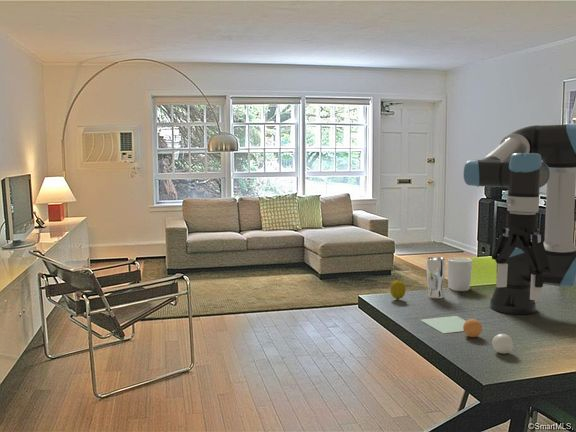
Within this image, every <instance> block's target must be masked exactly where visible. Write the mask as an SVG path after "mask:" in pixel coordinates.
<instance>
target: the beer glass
mask: <svg viewBox="0 0 576 432" xmlns="http://www.w3.org/2000/svg"><path fill="white" fill-rule="evenodd" d="M445 277H446V258H445V257H442V256H441V257H439V256H430V257H427V259H426V278H427V286H428V287H427V293H426V298H429V299H434V300H436V299H437V300H438V299H439V300H441V299H443V298H444V293H443V285H444V281H445Z"/></svg>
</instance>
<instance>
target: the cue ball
mask: <svg viewBox="0 0 576 432" xmlns="http://www.w3.org/2000/svg"><path fill="white" fill-rule="evenodd" d="M492 347H493V349H494V351H495V352H497V353H499V354H500V355H501V354H503V355H504V354H508V353H510V352H511V351H512V350H513V348H514V342H513V339H512V338H511V336H509V335H508V334H505V333H498V334H496V335H495V336H494V337H493V338H492Z"/></svg>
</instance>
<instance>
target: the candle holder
mask: <svg viewBox="0 0 576 432" xmlns="http://www.w3.org/2000/svg"><path fill="white" fill-rule="evenodd" d="M473 262H474V260H473V259H471V258H468V257H462V256H461V257H460V256H459V257H458V256H454V257H448V258H447V287H448V289H449V288H451V289H452V291H456V292H457V291H458V292H467V291H469V290H470V288H471V280H472V268H473ZM451 289H450V290H451Z"/></svg>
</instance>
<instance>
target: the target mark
mask: <svg viewBox="0 0 576 432" xmlns="http://www.w3.org/2000/svg"><path fill="white" fill-rule="evenodd" d="M419 321H421V322H422V323H424V324H426V325H427V326H429V327H431V328H433V329H434V330H436V331H438V332H439V333H441V334H444V335H445V334H451V333H452V334H453V333H461V332H464V330H463V325H464V323H465V322H466V321H467V320H465V319H463V318H462V317H460V316H457V315H452V316H444V317H443V316H442V317H433V318H423V319H419Z"/></svg>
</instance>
